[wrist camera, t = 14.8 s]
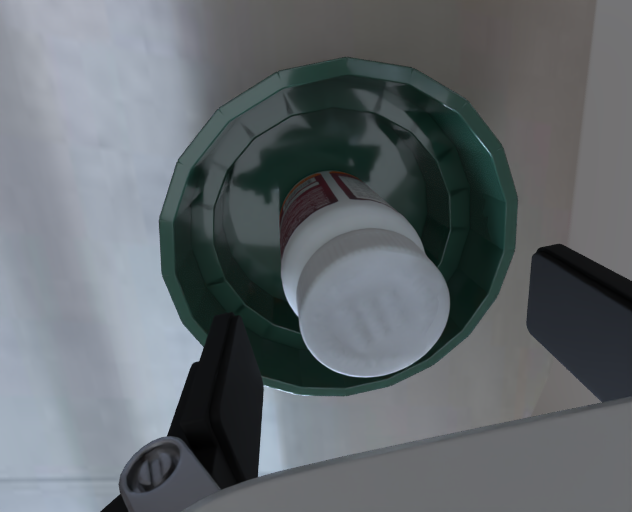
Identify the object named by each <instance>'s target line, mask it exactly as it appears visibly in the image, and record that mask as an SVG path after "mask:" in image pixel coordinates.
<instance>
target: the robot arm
mask: <svg viewBox="0 0 632 512" xmlns="http://www.w3.org/2000/svg"><path fill="white" fill-rule="evenodd" d="M526 324H527V328H528V331H529V332H530V334H531V335H532V336H533V337H534V338H535V339H536V340H537V341H538V342H540V343H541V344H542V345H543V346H544V347H545V348H546V349H547V350H548V351H549V352H550V353H551V354H552V355H553V356H554V357H555V358H556V359H557V360H558V361H559V362H560V363H561V364H563V365H564V366H565V367H566V368H567V369H568V370H569V371H570V372H571V373H572V374H573V375H574V376H575V377H576V378H577V379H578V380H579V381H580V382H581V383H582V384H583V385H584V386H586V387H587V388H588V389H589V390H590V391H591V392H592V393H593V394H594V395H595V396H596V397H597V398H598V399H599V400H600V401H601V402H602V403H597V404H592V405H587V406H582V407H578V408H572V409H567V410H562V411H557V412H552V413H548V414H543V415H538V416H533V417H528V418H523V419H518V420H514V421H509V422H504V423H499V424H494V425H489V426H485V427H480V428H475V429H470V430H465V431H461V432H456V433H451V434H446V435H442V436H437V437H432V438H427V439H423V440H418V441H413V442H409V443H404V444H399V445H395V446H390V447H385V448H381V449H376V450H371V451H367V452H362V453H357V454H353V455H348V456H343V457H339V458H334V459H330V460H326V461H321V462H317V463H313V464H308V465H304V466H300V467H296V468H291V469H287V470H283V471H278V472H275V473H271V474H268V475H264V476H261V477H258V465H259V451H260V436H261V421H262V406H263V392H264V387H263V380H262V376H261V373H260V371H259V368H258V365H257V362H256V359H255V356H254V353H253V350H252V347H251V344H250V341H249V338H248V335H247V332H246V329H245V326H244V323H243V320H242V318H241V316H240V315H237V316H235V314H234V313H233V312H229V313H224V314H219V315H215V316H214V317H213V320H212V323H211V326H210V330H209V333H208V336H207V339H206V342H205V345H204V348H203V352H202V355H201V358H200V361H199V362H195V363H193V364H192V366H191V368H190V371H189V374H188V377H187V380H186V383H185V385H184V388H183V391H182V394H181V397H180V400H179V403H178V406H177V409H176V412H175V415H174V417H173V420H172V423H171V426H170V429H169V432H168V435H167V437H161V438H159V439H156V440H154V441H151V442H150V443H148V444H147V445H145V446H143V447H142V448H141V449H140V450H139V451H138V452H136V453H135V454H134V455H133V456H132V458H131V459H130V460H129V461H128V463H127V464H126V465H125V467H124V469H123V471H122V473H121V475H120V480H119V490H120V495H119V496H118V497H116V498H115V499H114V500H113V501H112V502H111V503H110V504H108V505H107V506H106V507H105V508H104V509H103V510H102V511H101V512H632V281H630V280H629V279H627V278H625V277H623V276H621V275H619V274H617V273H615V272H613V271H612V270H610V269H608V268H606V267H604V266H602V265H600V264H598V263H596V262H594V261H593V260H591V259H589V258H587V257H585V256H583V255H581V254H579V253H577V252H575V251H573V250H571V249H570V248H568V247H566V246H564V245H562V244H555V245H551V246H546V247H541V248H539V249H538V250H537V252H536V253H535V254H534V255H533V256H532V263H531V275H530V286H529V298H528V309H527V321H526Z"/></svg>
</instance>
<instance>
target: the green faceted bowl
mask: <svg viewBox="0 0 632 512" xmlns="http://www.w3.org/2000/svg"><path fill="white" fill-rule="evenodd" d="M322 171H340V172H345V173H348V174H350V175H353V176H354V177H356V178H358V179H359V180H361V181H362V182H363V183H365V184H366V185H367V186H368V187H370V188H371V189H372V190H373V191H374V192H375V193H377V194H378V195H379V196H380V197H381V198H382V199H383V200H384V201H386V202H387V203H388V204H389V205H390V206H391V207H393V208H394V209H395V210H396V211H397V212H399V213H400V214H402V215H403V216H404V217H405V218H406V220H407V221H408V222H409V223H410V224H411V225H412V227H413V228H414V229H415V231H416V232H417V234H418V236H419V238H420V240H421V242H422V245H423V248H424V251H425V254H426V256H427V257H428V258H429V259H430V260H431V261H432V262H433V263H434V265H435V266H436V267H437V268H438V269H439V271H440V272H441V274H442V276H443V277H444V279H445V282H446V284H447V287H448V290H449V295H450V310H449V316H448V320H447V322H446V326H445V328H444V330H443V332H442V334H441V336H440V337H439V339H438V340H437V342H436V343H435V344H434V345H433V347H432V348H431V349H430V350H429V351H428V352H427V353H426V354H425V355H424V356H422V357H421V358H420V359H419V360H417V361H416V362H414V363H413V364H411V365H409V366H408V367H406V368H404V369H401V370H399V371H397V372H394V373H391V374H387V375H383V376H376V377H354V376H348V375H344V374H341V373H338V372H335V371H333V370H331V369H329V368H327V367H326V366H325V365H323V364H322V363H320V362H319V361H318V360H317V359H316V358H315V357H314V356H313V355H312V354H311V352H310V351H309V349H308V348H307V346H306V344H305V342H304V340H303V338H302V334H301V331H300V326H299V317H298V316H297V315H296V313H295V312H294V311H293V309H292V308H291V306H290V305H289V303H288V300H287V298H286V296H285V293H284V289H283V284H282V279H281V249H280V227H279V220H280V212H281V208H282V205H283V202H284V200H285V198H286V196H287V195H288V193H289V192H290V190H291V189H292V188H293V187H294V186H295V185H296V184H297V183H298V182H299V181H301V180H302V179H304V178H305V177H307V176H309V175H311V174H314V173H317V172H322ZM517 209H518V196H517V193H516V189H515V186H514V182H513V179H512V176H511V172H510V169H509V165H508V162H507V158H506V155H505V152H504V148H503V147H502V144H501V143H500V141H499V140H498V139H497V138H496V136H495V135H494V134H493V132H492V131H491V130H490V128H489V127H488V126H487V125H486V123H485V122H484V121H483V119H482V118H481V117H480V115H479V114H478V113H477V112H476V110H475V109H474V108H473V106H472V105H471V104H470V102H469V101H468V100H466V98H464V97H462V96H461V95H459V94H457V93H456V92H454V91H452V90H450V89H449V88H447V87H445V86H444V85H442V84H440V83H439V82H437V81H435V80H434V79H432V78H430V77H429V76H427V75H425V74H424V73H422V72H420V71H418V70H417V69H415V68H412V67H408V66H401V65H395V64H389V63H383V62H376V61H370V60H364V59H358V58H351V57H347V58H346V57H342V58H338V59H333V60H328V61H323V62H318V63H313V64H309V65H304V66H299V67H294V68H289V69H285V70H280V71H278V72H275V73H274V74H272V75H270V76H269V77H267V78H266V79H264V80H262V81H261V82H259V83H257V84H256V85H254V86H253V87H251V88H249V89H248V90H246V91H245V92H243V93H241V94H240V95H238V96H237V97H235V98H233V99H232V100H230V101H229V102H227V103H225V104H224V105H222V106H221V107H219V109H217V110H216V111H215V113H214V114H213V115H212V117H211V118H210V119H209V120H208V122H207V123H206V124H205V126H204V127H203V128H202V129H201V131H200V132H199V133H198V135H197V136H196V137H195V138H194V140H193V141H192V142H191V144H190V145H189V146H188V147H187V149H186V150H185V151H184V153H183V154H182V155H181V156H180V158H179V159H178V162H177V163H176V166H175V169H174V173H173V176H172V179H171V182H170V185H169V188H168V192H167V195H166V198H165V201H164V204H163V207H162V211H161V214H160V217H159V233H160V253H161V272H162V277H163V279H164V281H165V284H166V286H167V288H168V291H169V293H170V296H171V298H172V300H173V303H174V305H175V307H176V310H177V312H178V314H179V317H180V319H181V321H182V323H183V325H184V326H185V327H186V328H187V329H188V330H189V331H190V332H191V333H192V335H193V336H194V337H195V338H196V339H197V340H198V341H199V342H200V344H201V345H202V346H203V347H204V345H205V342H206V339H207V336H208V333H209V330H210V326H211V323H212V320H213V317H214V316H215V315H219V314H224V313H229V312H233V313H234V314H235V316H237V315H240V316H241V318H242V320H243V323H244V326H245V329H246V332H247V335H248V338H249V341H250V344H251V347H252V350H253V353H254V356H255V359H256V362H257V365H258V368H259V371H260V373H261V376H262V380H263V386H266V387H270V388H274V389H277V390H281V391H285V392H288V393H292V394H296V395H301V396H345V395H346V396H349V395H354V394H358V393H363V392H367V391H371V390H376V389H380V388H385V387H389V386H390V385H391V386H392V385H394V384H396V383H398V382H400V381H402V380H404V379H406V378H408V377H410V376H412V375H414V374H417V373H419V372H421V371H423V370H425V369H427V368H429V367H431V366H432V365H434V364H435V363H436V362H438V361H439V360H440V359H441V358H443V357H444V356H445V355H446V354H447V353H449V352H450V351H451V350H452V349H453V348H455V347H456V346H457V345H458V344H459V343H461V342H462V341H463V340H464V339H466V338H467V337H468V336H469V335H470V334H471V332H472V331H473V330H474V328H475V327H476V325H477V324H478V323H479V321H480V320H481V319H482V317H483V316H484V314H485V313H486V312H487V310H488V309H489V308H490V306H491V305H492V304H493V302H494V301H495V299H496V298H497V296H498V294H499V292H500V289H501V286H502V284H503V281H504V278H505V276H506V273H507V270H508V268H509V265H510V262H511V260H512V257H513V254H514V252H515V247H516V228H517Z"/></svg>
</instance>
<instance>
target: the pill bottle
mask: <svg viewBox="0 0 632 512" xmlns="http://www.w3.org/2000/svg"><path fill="white" fill-rule="evenodd" d="M279 227H280V249H281V279H282V284H283V289H284V293H285V296H286V298H287V300H288V303H289V305H290V306H291V308H292V309H293V311H294V312H295V313H296V315H297V316H298V317H299V326H300V331H301V334H302V338H303V340H304V342H305V344H306V346H307V348H308V349H309V351H310V352H311V354H312V355H313V356H314V357H315V358H316V359H317V360H318V361H319V362H320V363H322V364H323V365H325V366H326V367H327V368H329V369H331V370H333V371H335V372H338V373H341V374H344V375H348V376H354V377H376V376H383V375H387V374H391V373H394V372H397V371H399V370H401V369H404V368H406V367H408V366H409V365H411V364H413V363H414V362H416V361H417V360H419V359H420V358H421V357H422V356H424V355H425V354H426V353H427V352H428V351H429V350H430V349H431V348H432V347H433V345H434V344H435V343H436V342H437V340H438V339H439V337H440V336H441V334H442V332H443V330H444V328H445V326H446V322H447V320H448V316H449V310H450V295H449V290H448V287H447V284H446V282H445V279H444V277H443V276H442V274H441V272H440V271H439V269H438V268H437V267H436V266H435V265H434V263H433V262H432V261H431V260H430V259H429V258H428V257H427V256H426V254H425V251H424V248H423V245H422V242H421V240H420V238H419V236H418V234H417V232H416V231H415V229H414V228H413V227H412V225H411V224H410V223H409V222H408V221H407V220H406V218H405V217H404V216H403V215H402V214H400V213H399V212H397V211H396V210H395V209H394V208H393V207H391V206H390V205H389V204H388V203H387V202H386V201H384V200H383V199H382V198H381V197H380V196H379V195H378V194H377V193H375V192H374V191H373V190H372V189H371V188H370V187H368V186H367V185H366V184H365V183H363V182H362V181H361V180H359V179H358V178H356V177H354V176H353V175H350V174H348V173H345V172H340V171H322V172H317V173H314V174H311V175H309V176H307V177H305V178H304V179H302V180H301V181H299V182H298V183H297V184H296V185H295V186H294V187H293V188H292V189H291V190H290V192H289V193H288V195H287V196H286V198H285V200H284V202H283V205H282V208H281V212H280V220H279Z"/></svg>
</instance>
